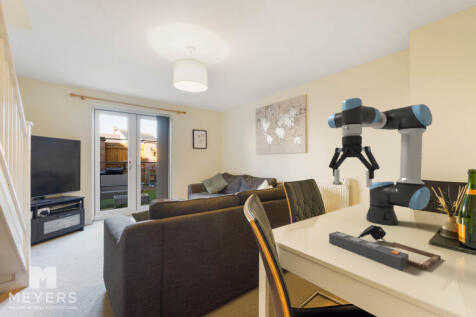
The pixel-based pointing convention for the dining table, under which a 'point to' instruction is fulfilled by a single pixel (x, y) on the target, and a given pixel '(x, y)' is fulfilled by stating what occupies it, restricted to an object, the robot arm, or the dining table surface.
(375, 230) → the power plug
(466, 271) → the dining table surface
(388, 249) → the power strip
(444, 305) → the dining table surface
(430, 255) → the bay
